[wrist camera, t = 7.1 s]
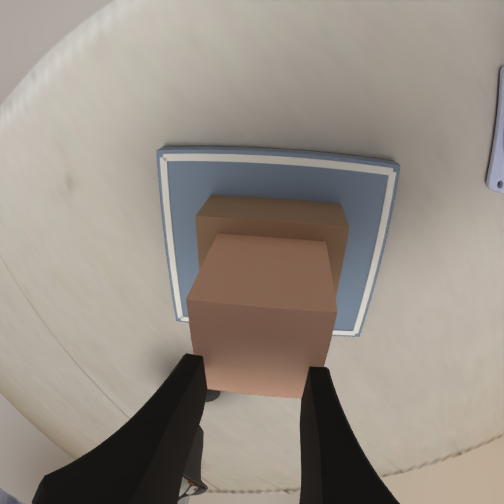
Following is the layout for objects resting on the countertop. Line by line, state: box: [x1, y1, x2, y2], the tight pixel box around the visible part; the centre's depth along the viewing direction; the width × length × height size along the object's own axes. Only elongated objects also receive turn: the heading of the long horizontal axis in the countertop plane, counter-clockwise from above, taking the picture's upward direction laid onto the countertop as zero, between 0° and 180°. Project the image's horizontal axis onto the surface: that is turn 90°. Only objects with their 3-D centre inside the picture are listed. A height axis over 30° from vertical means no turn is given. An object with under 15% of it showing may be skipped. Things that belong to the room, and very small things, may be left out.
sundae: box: [178, 389, 220, 501], centre depth 21 cm, size 7×7×15 cm
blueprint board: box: [157, 146, 400, 337], centre depth 18 cm, size 13×12×4 cm
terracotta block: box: [186, 233, 338, 398], centre depth 14 cm, size 5×5×5 cm
